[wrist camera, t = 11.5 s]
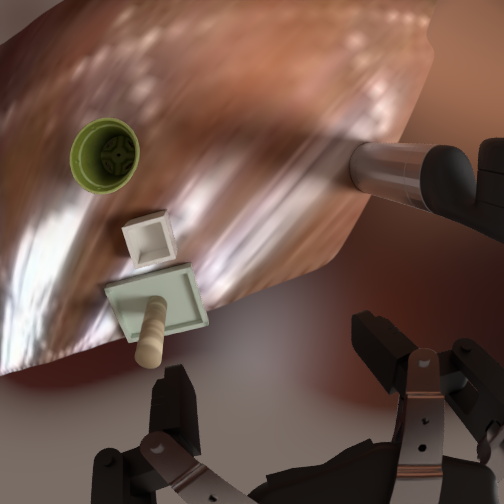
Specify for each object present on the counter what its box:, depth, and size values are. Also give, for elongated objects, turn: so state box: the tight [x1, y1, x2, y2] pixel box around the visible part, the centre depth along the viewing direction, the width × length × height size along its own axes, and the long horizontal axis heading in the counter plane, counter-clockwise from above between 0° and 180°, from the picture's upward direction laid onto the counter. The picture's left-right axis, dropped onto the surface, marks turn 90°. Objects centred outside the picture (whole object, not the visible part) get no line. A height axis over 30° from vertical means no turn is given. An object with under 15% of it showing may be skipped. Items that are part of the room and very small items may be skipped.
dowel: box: [135, 295, 167, 368], centre depth 38 cm, size 3×3×14 cm
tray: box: [104, 262, 209, 343], centre depth 44 cm, size 15×11×2 cm
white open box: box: [122, 210, 178, 269], centre depth 39 cm, size 6×6×5 cm
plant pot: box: [70, 118, 140, 194], centre depth 32 cm, size 9×9×9 cm
